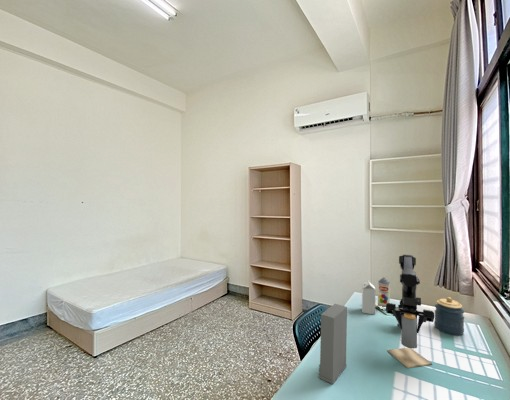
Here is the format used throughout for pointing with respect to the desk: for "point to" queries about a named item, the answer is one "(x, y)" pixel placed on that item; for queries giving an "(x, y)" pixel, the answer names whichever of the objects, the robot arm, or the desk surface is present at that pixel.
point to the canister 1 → (409, 330)
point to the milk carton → (368, 298)
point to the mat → (409, 357)
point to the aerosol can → (383, 292)
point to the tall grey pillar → (333, 343)
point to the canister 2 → (449, 316)
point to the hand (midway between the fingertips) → (409, 331)
